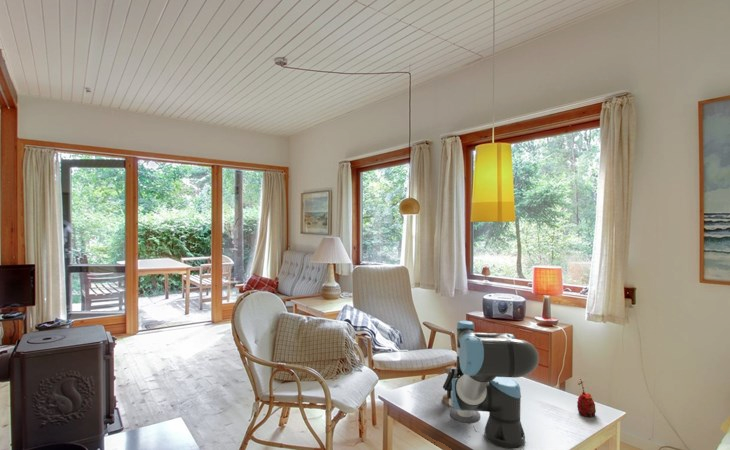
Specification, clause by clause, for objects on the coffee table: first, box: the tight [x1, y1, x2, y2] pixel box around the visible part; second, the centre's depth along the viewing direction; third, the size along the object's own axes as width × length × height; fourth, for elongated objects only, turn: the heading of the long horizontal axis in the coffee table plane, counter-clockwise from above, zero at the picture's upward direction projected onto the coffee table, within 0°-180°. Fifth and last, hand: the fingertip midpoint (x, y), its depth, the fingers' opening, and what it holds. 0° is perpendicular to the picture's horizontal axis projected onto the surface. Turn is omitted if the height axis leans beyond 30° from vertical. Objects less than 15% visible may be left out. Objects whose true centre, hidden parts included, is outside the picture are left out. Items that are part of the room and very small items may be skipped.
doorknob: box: [442, 365, 457, 406], centre depth 181 cm, size 10×10×15 cm
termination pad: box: [449, 407, 481, 424], centre depth 169 cm, size 13×13×1 cm
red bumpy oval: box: [576, 378, 597, 418], centre depth 170 cm, size 8×7×15 cm
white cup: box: [457, 409, 473, 417], centre depth 169 cm, size 8×8×10 cm
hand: (465, 404), depth 168 cm, fingers open, 13 cm apart
